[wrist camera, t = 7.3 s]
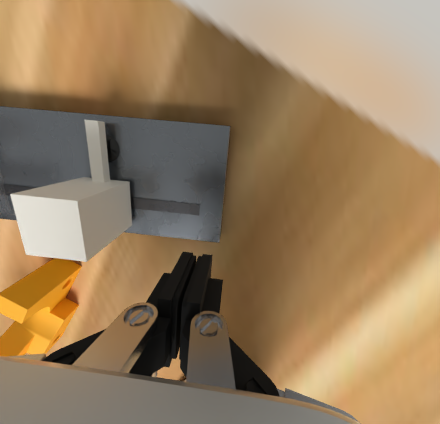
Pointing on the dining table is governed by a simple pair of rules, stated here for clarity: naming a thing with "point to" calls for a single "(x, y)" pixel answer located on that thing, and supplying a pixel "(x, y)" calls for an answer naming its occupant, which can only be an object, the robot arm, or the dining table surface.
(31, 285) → the pipe clamp
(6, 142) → the plate
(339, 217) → the dining table surface
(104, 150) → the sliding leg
